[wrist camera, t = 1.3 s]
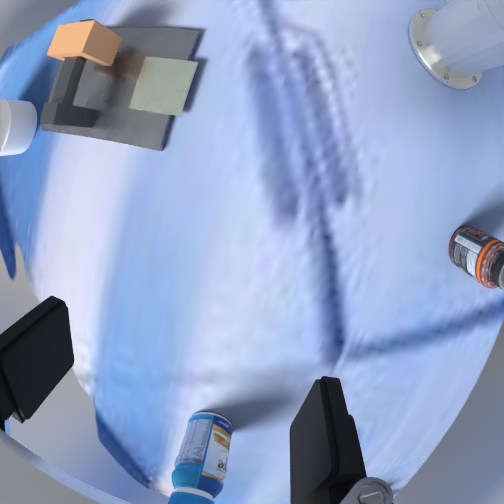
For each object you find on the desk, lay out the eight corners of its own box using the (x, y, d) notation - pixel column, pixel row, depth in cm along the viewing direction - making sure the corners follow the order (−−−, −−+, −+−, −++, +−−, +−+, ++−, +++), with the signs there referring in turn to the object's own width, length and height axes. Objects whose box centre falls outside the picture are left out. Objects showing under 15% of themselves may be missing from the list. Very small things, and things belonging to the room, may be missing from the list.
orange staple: (87, 39, 25) (58, 25, 19) (122, 38, 25) (95, 20, 19) (77, 65, 26) (46, 55, 20) (111, 66, 26) (81, 52, 20)
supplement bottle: (479, 227, 32) (530, 250, 21) (471, 266, 34) (517, 297, 23) (451, 223, 32) (502, 247, 21) (443, 264, 34) (488, 299, 23)
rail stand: (75, 33, 27) (39, 16, 18) (211, 35, 27) (193, 1, 19) (45, 130, 32) (3, 130, 23) (173, 153, 32) (141, 152, 24)
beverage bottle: (193, 404, 45) (163, 499, 26) (239, 418, 45) (224, 515, 26) (185, 428, 47) (158, 512, 28) (227, 440, 47) (211, 526, 28)
